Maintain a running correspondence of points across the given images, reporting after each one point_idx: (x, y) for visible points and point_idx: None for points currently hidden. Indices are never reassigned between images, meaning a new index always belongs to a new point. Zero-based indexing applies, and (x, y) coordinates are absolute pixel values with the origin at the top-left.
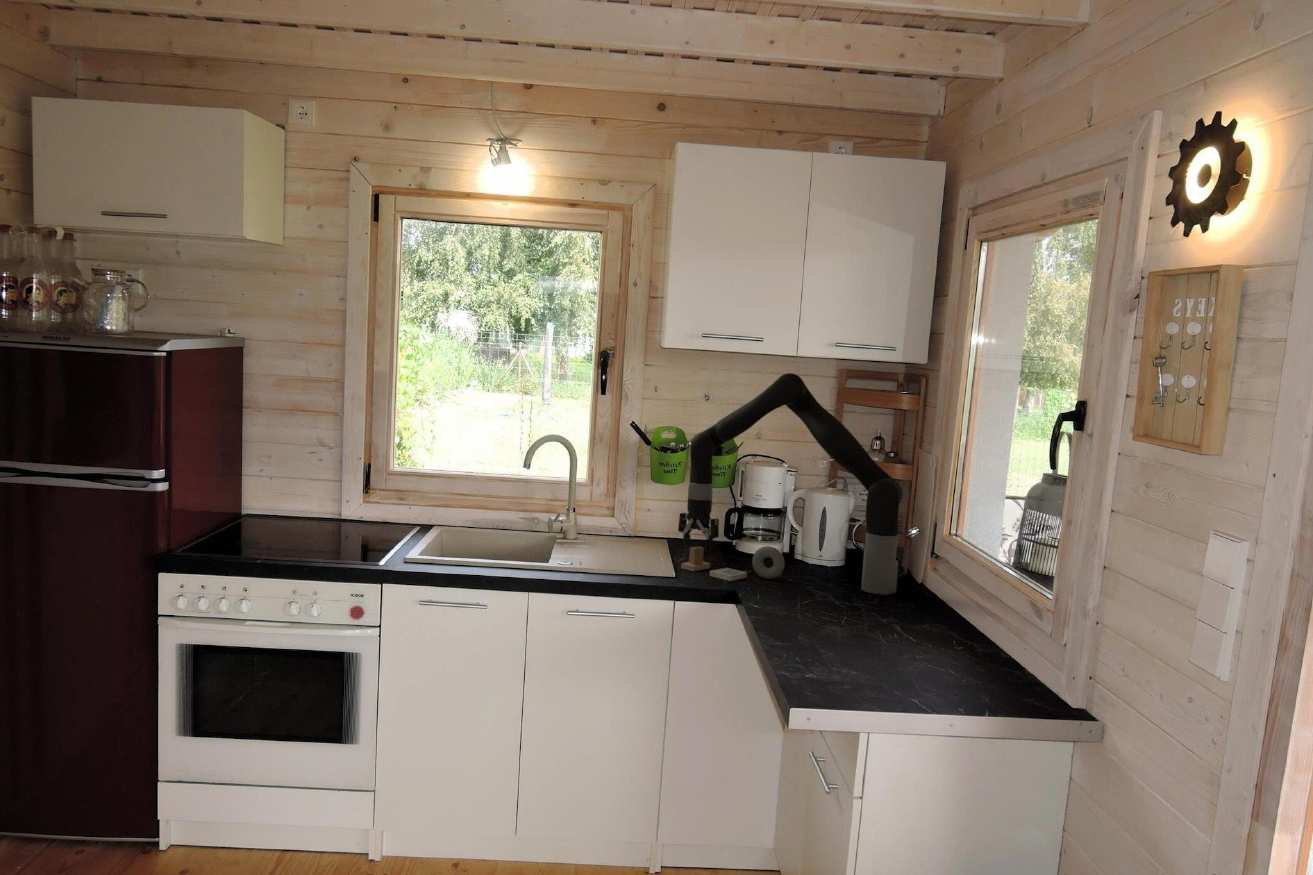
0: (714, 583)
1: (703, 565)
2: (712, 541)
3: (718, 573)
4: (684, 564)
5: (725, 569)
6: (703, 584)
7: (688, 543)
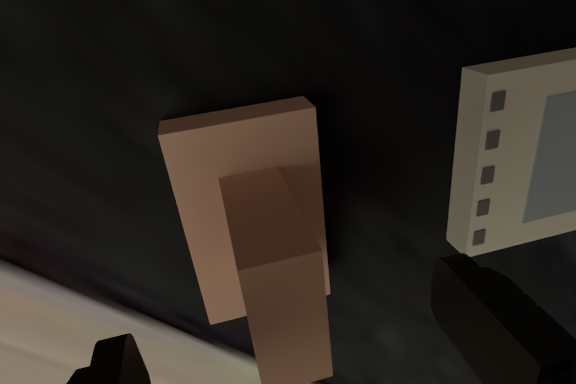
0: (547, 302)
1: (320, 192)
2: (572, 338)
3: (529, 239)
4: (240, 315)
5: (517, 130)
6: None
7: (133, 381)
